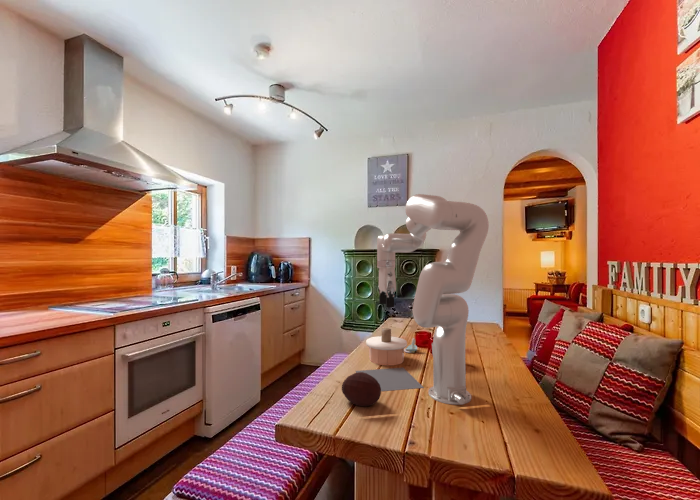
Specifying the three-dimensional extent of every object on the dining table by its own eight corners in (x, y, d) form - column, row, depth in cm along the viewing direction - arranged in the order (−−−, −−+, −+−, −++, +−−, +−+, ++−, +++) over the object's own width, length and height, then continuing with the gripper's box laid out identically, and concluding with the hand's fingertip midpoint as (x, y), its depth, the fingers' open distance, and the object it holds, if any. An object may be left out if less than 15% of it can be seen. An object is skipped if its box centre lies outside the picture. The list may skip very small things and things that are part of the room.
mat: (424, 389, 101) (423, 387, 101) (367, 394, 98) (367, 392, 98) (403, 369, 120) (403, 367, 120) (355, 372, 116) (355, 370, 116)
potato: (377, 415, 84) (376, 381, 85) (336, 408, 89) (336, 375, 89) (384, 401, 93) (384, 370, 93) (347, 395, 97) (347, 365, 97)
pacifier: (403, 353, 140) (417, 354, 139) (403, 339, 140) (416, 340, 139) (404, 349, 147) (417, 349, 146) (404, 335, 147) (416, 336, 146)
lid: (413, 348, 123) (413, 333, 123) (372, 351, 120) (371, 335, 120) (398, 337, 140) (398, 324, 140) (361, 339, 136) (361, 325, 136)
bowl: (408, 365, 124) (408, 347, 124) (374, 367, 121) (374, 349, 122) (396, 354, 138) (396, 338, 138) (366, 356, 135) (366, 340, 135)
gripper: (401, 264, 123) (402, 308, 122) (388, 264, 140) (388, 302, 139) (383, 265, 121) (383, 308, 121) (372, 264, 138) (372, 302, 138)
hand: (386, 305), depth 130 cm, fingers open, 9 cm apart
